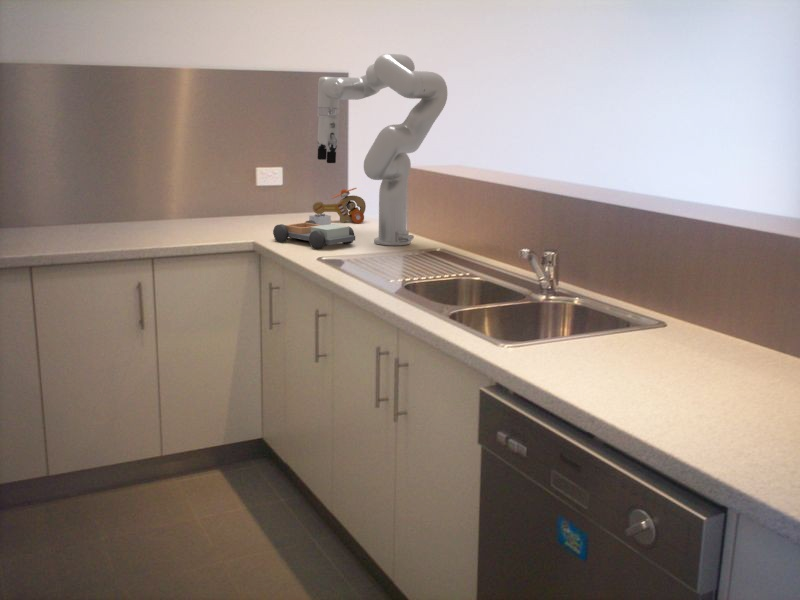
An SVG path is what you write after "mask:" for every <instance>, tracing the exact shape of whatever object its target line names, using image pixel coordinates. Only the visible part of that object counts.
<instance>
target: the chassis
mask: <svg viewBox="0 0 800 600" xmlns="http://www.w3.org/2000/svg"><path fill="white" fill-rule="evenodd" d="M272 234H273V236H274V237H273V238H274V239H275V241H276V242H278V243H284V242H286V241H288V238H290V239H291V238H293V239H296V240H298V239H299V240H303V241H308V242H309V245H310V247H311V248H312V249H314V250H321V249H323V248H324V246H325V245H328V246H329V245H335V244H343V245H350V244H351V245H352V243H353V242H355V241H356V235H355V232H354V230H353V228H352V227H351V226H348V225H340V224H333V223H331V224H329V225H318V224H316V223H315V222H314V221H313V220H310V221H309V220H306V221H304V222H299V223H292V224H283V223H281V224H276V225H274V228H273V229H272Z"/></svg>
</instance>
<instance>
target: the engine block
mask: <svg viewBox="0 0 800 600" xmlns="http://www.w3.org/2000/svg"><path fill="white" fill-rule="evenodd" d="M308 216H309V218H308V219H309V220H308V221H310V220H313V221H314V222H315V223H316V224H318V225H329V224H332V223H331V221H332V218H331V217H332V216H331V215H329V214H325V213H322V214H316V213H315V214H313V215H312V214H311V215H308Z"/></svg>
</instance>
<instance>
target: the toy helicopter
mask: <svg viewBox="0 0 800 600" xmlns="http://www.w3.org/2000/svg"><path fill="white" fill-rule="evenodd" d="M354 190H357V187H353V188H350V189H348V190H347V189H345V188H344V189H341V191H340V193H338V194H336V195H334V196H332V197H331V199H335V198H337V197H339V196H340V197H341V198H342V199H340V200H339V201H338V202H337V203H323V202H321V201H316V202H314V204H313V205H312V210H313V213H315V214H324V213H326V212H329V213H331V212H332V213H337V215H338V216H339V221H340V222H341V223H346V222H347V221H348V222H353V223H355V224H361V223H363V222H364V220H365V215H364V214H365V212H366V201H365V199H363V197H361V196H358V195H354V194H353V195H350V194H351V193H350V192H351V191H354ZM356 206H357V207H356Z"/></svg>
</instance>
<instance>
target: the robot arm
mask: <svg viewBox="0 0 800 600" xmlns="http://www.w3.org/2000/svg"><path fill="white" fill-rule="evenodd" d="M385 88H390V89H391V90H392V91H394V92H395V93H397V94H398V95H400V97H403V98H406V99H412V100H413V99H416V100H417V99H419V102H417V103H416V104H415V105H414V106H413V107H412V108H411V109H410V112H409V113H408V114H407V116H406V117H405V119H404V121H403V122H402V123H399V124H389V125H386V126H385V127H383V128H382V129H381V130H380V131H379V133H378V134H377V136H376V138H375V140H374V142H373V143H372V145H371V146H370V148H369V150H368V152H367V153H366V156H365V158H364V161H363V172H364V174H365V175H366V177H367V178H369V179H371V180H372V181H373V180H374V181H381V183H380V185H379V186H380V187H379V190H378V191H379V193H378V237H375V238H374V239H373V243H374V244H376V245H381V246H389V247H390V246H393V247H394V246H406V245H410V244H411V241H412V240H414V237H415V235H414V234H409V233H410V232H409V230H407V223H408V222H407V213H408V212H407V209H408V185H409V178H410V177H409V176H410V173H411V166H412V165H411V164H412V163H411V160H410V159H411V158H410V156H409V155H408V154H413V153H415V152H416V151H418V149H419V148H420V147H421V145H422V143H423V142H424V140H425V138H426V137H427V135H428V133H429V132H430V130H431V128H432V127H433V125H434V124H435V122H436V120H437V119H438V117H439V116H440V115H441V113H442V112H443V110H444V108H445V106H446V104H447V100H448V94H449V93H448V85H447V82H446V81H445V79H444V77H443V76H442V75H440V74H439V73H436V72H433V71H428V70H427V71H424V70H423V71H421V70H419V71H418V70H415V63H414V61H413V59H412V58H410V57H409V56H407V55H404V54H402V53H401V54H396V53H384V54H381V55H379V56H377V58H376V60H374V63H373V64H370V65H368V67H367V68H366V71H365V75H362V76H359V77H348V76H347V77H340V76H339V77H336V76H320V77H319V79H318V88H317V90H318V91H317V93H318V94H317V115H316V116H317V117H318V123H317V124H318V125H317V160H321V161H322V160H323V161H324V160H325V161H326V163H327V164H336V161H337V148H338V145H339V144H340V139H339V137H340V136H339V133H340V132H339V131H340V128H339V118H340V117H339V116H340V101H343V100H344V101H346V100H352V101H354V100H355V101H356V100H362V99H366V98H369V97H371V96H374V95H377V93H379V92H380V91H381V90H382V89H385Z"/></svg>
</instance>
